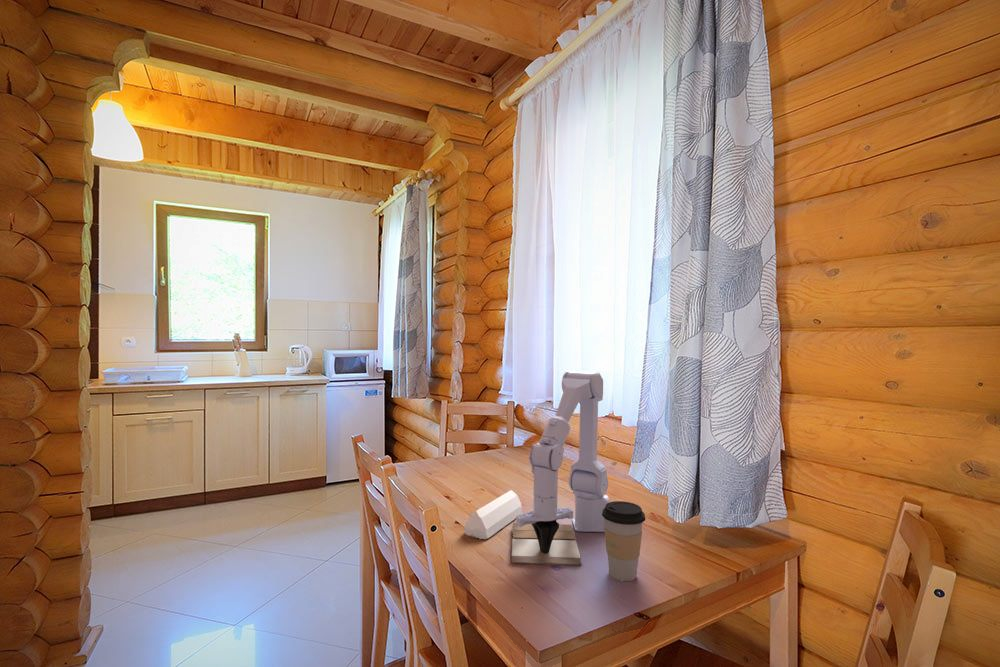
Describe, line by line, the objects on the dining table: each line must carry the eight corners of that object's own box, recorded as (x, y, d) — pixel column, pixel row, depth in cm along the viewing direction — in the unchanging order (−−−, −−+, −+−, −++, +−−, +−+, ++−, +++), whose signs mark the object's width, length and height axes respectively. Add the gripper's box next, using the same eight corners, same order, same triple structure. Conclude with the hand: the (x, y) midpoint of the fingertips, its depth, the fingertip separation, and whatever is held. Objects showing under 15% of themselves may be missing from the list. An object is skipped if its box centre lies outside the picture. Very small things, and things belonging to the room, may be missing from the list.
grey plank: (575, 546, 116) (575, 540, 116) (580, 564, 107) (580, 557, 107) (512, 544, 117) (512, 538, 117) (511, 562, 108) (511, 555, 108)
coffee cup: (593, 574, 104) (593, 506, 104) (615, 560, 110) (616, 497, 110) (631, 590, 97) (631, 518, 97) (652, 574, 103) (653, 507, 104)
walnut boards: (571, 530, 126) (571, 524, 126) (575, 544, 117) (575, 539, 117) (512, 528, 127) (513, 523, 127) (512, 543, 118) (512, 537, 118)
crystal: (489, 530, 118) (530, 501, 138) (469, 511, 121) (512, 486, 142) (477, 552, 119) (519, 520, 140) (457, 533, 122) (501, 505, 143)
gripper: (562, 486, 117) (561, 540, 117) (510, 492, 111) (509, 549, 111) (578, 494, 111) (577, 552, 110) (524, 502, 105) (523, 562, 105)
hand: (544, 551), depth 110 cm, fingers closed, pressing on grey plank
